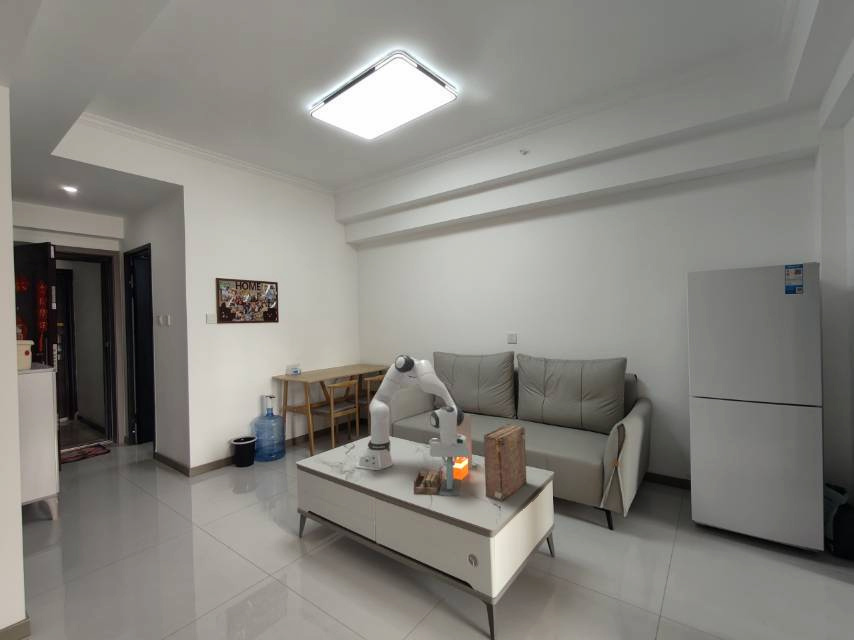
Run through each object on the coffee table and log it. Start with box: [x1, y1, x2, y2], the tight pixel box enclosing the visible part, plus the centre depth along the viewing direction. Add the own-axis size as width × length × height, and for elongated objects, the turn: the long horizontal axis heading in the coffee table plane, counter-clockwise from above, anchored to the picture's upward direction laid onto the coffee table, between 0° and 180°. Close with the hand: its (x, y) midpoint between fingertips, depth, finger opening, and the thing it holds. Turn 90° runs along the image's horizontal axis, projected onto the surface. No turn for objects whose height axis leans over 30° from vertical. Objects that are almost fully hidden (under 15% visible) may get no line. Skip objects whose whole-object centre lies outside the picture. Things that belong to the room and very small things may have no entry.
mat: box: [438, 478, 462, 497], centre depth 202 cm, size 10×18×1 cm, turn 171°
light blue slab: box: [445, 457, 455, 489], centre depth 202 cm, size 2×12×13 cm, turn 171°
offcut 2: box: [431, 473, 438, 488], centre depth 204 cm, size 2×9×6 cm, turn 171°
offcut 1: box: [426, 471, 434, 487], centre depth 204 cm, size 2×10×6 cm, turn 171°
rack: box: [413, 469, 442, 495], centre depth 204 cm, size 12×16×6 cm
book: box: [483, 423, 527, 502], centre depth 198 cm, size 25×9×30 cm, turn 139°
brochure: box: [456, 413, 473, 469], centre depth 230 cm, size 14×6×30 cm, turn 84°
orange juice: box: [453, 457, 469, 480], centre depth 218 cm, size 8×9×20 cm
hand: (449, 464), depth 202 cm, fingers closed on light blue slab, 2 cm apart
